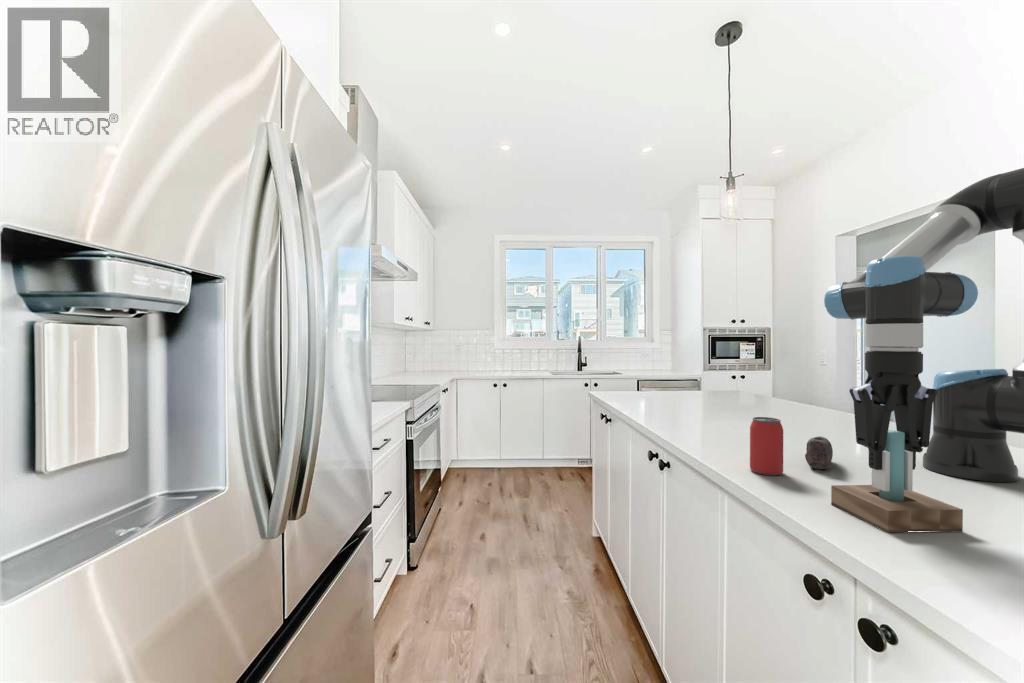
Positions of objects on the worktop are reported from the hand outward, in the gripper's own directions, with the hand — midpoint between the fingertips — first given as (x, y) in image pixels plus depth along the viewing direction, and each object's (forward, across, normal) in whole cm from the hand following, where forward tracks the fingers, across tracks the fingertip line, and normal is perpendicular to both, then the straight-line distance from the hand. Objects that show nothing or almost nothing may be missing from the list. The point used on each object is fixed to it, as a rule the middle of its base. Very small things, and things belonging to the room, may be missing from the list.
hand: (891, 488), depth 77 cm
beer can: (+5, +6, -26) cm, 27 cm away
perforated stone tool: (+5, -10, -31) cm, 33 cm away
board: (+5, 0, 0) cm, 5 cm away
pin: (+4, 0, 0) cm, 4 cm away
